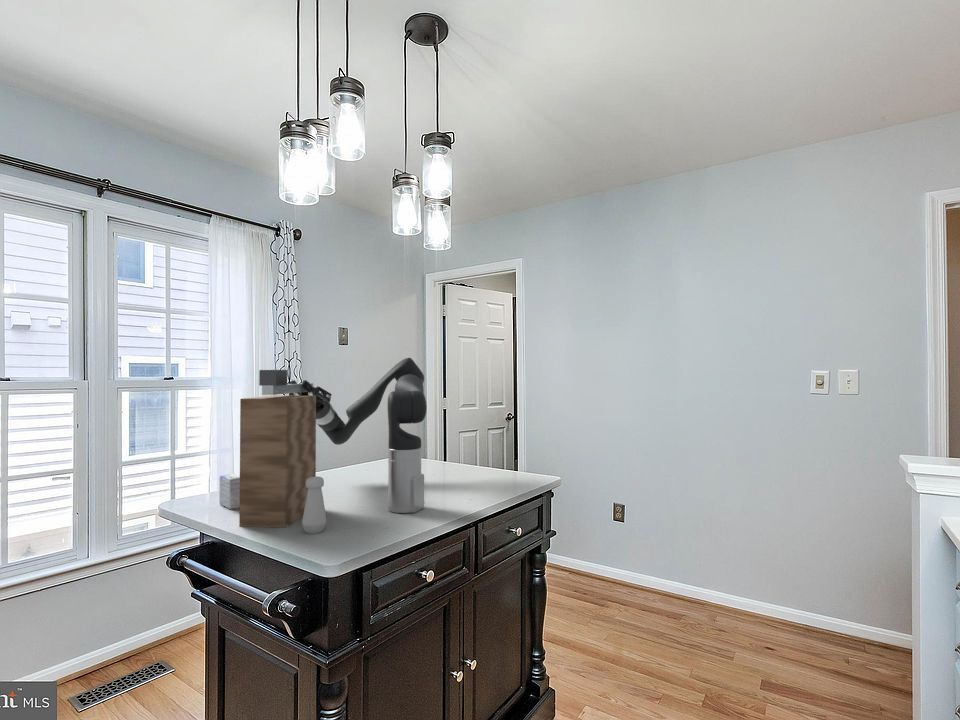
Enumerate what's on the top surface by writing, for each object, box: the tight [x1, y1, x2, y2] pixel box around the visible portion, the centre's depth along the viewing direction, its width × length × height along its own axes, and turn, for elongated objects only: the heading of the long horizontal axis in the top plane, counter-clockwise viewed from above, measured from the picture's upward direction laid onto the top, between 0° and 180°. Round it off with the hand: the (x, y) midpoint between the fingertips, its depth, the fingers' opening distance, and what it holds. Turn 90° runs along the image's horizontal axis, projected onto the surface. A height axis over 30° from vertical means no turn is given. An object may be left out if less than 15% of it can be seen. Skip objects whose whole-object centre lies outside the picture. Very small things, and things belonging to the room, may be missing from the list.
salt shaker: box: [301, 476, 328, 535], centre depth 124 cm, size 6×6×13 cm
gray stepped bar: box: [258, 369, 314, 396], centre depth 143 cm, size 24×4×6 cm, turn 174°
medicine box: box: [219, 473, 240, 510], centre depth 148 cm, size 8×4×9 cm, turn 47°
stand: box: [238, 394, 317, 528], centre depth 137 cm, size 18×12×32 cm, turn 174°
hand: (298, 383), depth 148 cm, fingers closed on gray stepped bar, 3 cm apart
